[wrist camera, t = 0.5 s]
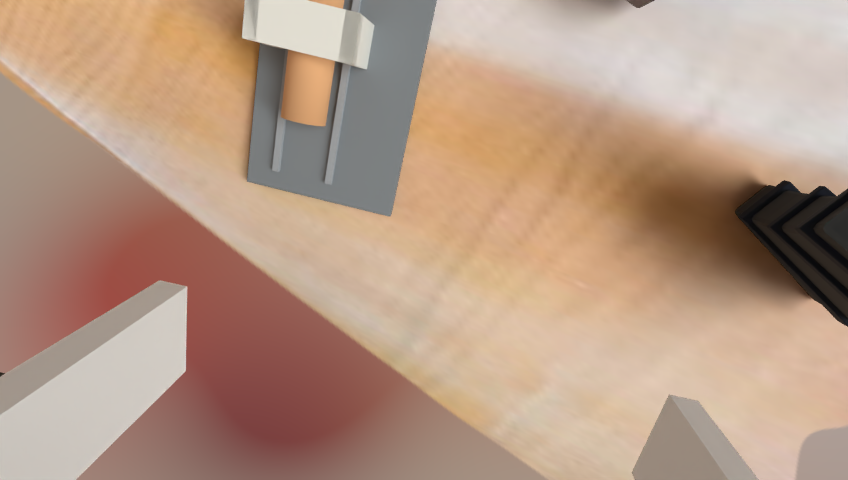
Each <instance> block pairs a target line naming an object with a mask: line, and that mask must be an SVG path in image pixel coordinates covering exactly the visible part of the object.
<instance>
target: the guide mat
mask: <svg viewBox="0 0 848 480" xmlns="http://www.w3.org/2000/svg"><path fill="white" fill-rule="evenodd" d="M436 1H437V0H344V6H343V9H345V10H350V11H354V12H358V13H361V14H362V15H363V16H364V17H365V18H367V19H368V20H369V21H370V22H371V23H372V24H374V31H373V37H372V43H371V49H370V54H369V60H368V66H367V70H366V69H362V68H358V67H354V66H351V65H348V64H345V63H341V62H337V61H335V66H334V73H333V80H332V86H331V93H330V100H329V107H328V113H327V120H326V126H313V125H307V124H302V123H297V122H293V121H290V120H287V119H284V118H282V117H281V109H282V100H283V91H284V82H285V74H286V65H287V56H288V49H280V48H276V47H272V46H268V45H265V44H261V43H260V48H259V59H258V70H257V80H256V91H255V102H254V112H253V123H252V134H251V144H250V155H249V166H248V177H247V182H251V183H255V184H259V185H264V186H268V187H272V188H276V189H280V190H284V191H288V192H292V193H296V194H300V195H304V196H308V197H312V198H316V199H320V200H325V201H329V202H333V203H337V204H341V205H345V206H349V207H353V208H357V209H361V210H365V211H369V212H373V213H377V214H382V215H386V216H391V214H392V209H393V204H394V199H395V195H396V190H397V185H398V181H399V176H400V171H401V166H402V162H403V157H404V152H405V148H406V143H407V138H408V133H409V129H410V124H411V119H412V115H413V110H414V105H415V100H416V96H417V91H418V86H419V82H420V77H421V72H422V67H423V63H424V58H425V53H426V49H427V44H428V39H429V34H430V30H431V25H432V20H433V16H434V11H435V6H436Z"/></svg>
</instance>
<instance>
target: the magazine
mask: <svg viewBox="0 0 848 480" xmlns="http://www.w3.org/2000/svg"><path fill="white" fill-rule="evenodd" d="M735 213H736V215H737V216H738V218H739V219H740V220H741V221H742V222H743V223H744V224H745V225H746V226H747V227H748V228H749V229H750V230H751V232H752V233H753V234H754V235H755V236H756V237H757V238H758V239H759V240H760V241H761V243H762V244H763V245H764V246H765V247H766V248H767V249H768V250H769V251H770V252H771V253H772V255H773V256H774V257H775V258H776V259H777V260H778V261H779V262H780V263H781V264H782V266H783V267H784V268H785V269H786V270H787V271H788V272H789V273H790V274H791V275H792V276H793V278H794V279H795V280H796V281H797V282H798V283H799V284H800V285H801V286H802V287H803V289H804V290H805V291H806V292H807V293H808V294H809V295H810V296H811V297H812V298H813V299H814V300H815V301H817V302H819V303H820V304H822V305H823V306H824V307H825V308H826V309H827V310H828V311H829V312H830V313H831V314H832V315H833V316H834V318H835V319H836V320H837V321H839V322H841V323H842V324H844V325H846V326H848V189H847V190H845V191H844V192H843V193H841V194H840V195H838V196H836V195H835V194H833V193H832V192H831V191H830V190H829V189H828V188H826V187H825V186H819V187H817V188H816V189H815V190H813V191H812V192H811V193H810V194H804V193H801V192H800V191H799V190H798V189H797V188H796V187H795V186H794V185H793V184H792V183H791V182H789V181H785V180H784V181H782V182H781V183H780V184H778V185H777V186H776V187H775V186H771V185H768V186H766V187H764V188H763V189H762V190H760V191H759V192H758V193H757V194H755V195H754V196H753V197H751V198H750V199H749V200H748V201H746V202H745V203H744V204H743V205H741V206H740V207H739V208H737V209H736V211H735Z"/></svg>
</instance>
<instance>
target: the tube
mask: <svg viewBox="0 0 848 480" xmlns="http://www.w3.org/2000/svg"><path fill="white" fill-rule="evenodd" d="M627 1H628V2H629V3H631V4H632V5H634V6H635V7H636V8H640V7H643V6H645V5H647V4H648V3H650V2H652V1H654V0H627Z"/></svg>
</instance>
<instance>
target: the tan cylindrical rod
mask: <svg viewBox="0 0 848 480" xmlns="http://www.w3.org/2000/svg"><path fill="white" fill-rule="evenodd" d="M308 1H312V2H317V3H321V4H325V5H329V6H333V7H337V8H341V9H343V6H344V0H308ZM334 66H335V61H333V60H329V59H325V58H321V57H317V56H312V55H308V54H304V53H300V52H296V51H292V50H288V56H287V65H286V74H285V82H284V91H283V100H282V109H281V117H282V118H284V119H287V120H290V121H293V122H297V123H302V124H307V125H313V126H326V120H327V113H328V107H329V100H330V93H331V86H332V80H333V73H334Z"/></svg>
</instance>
